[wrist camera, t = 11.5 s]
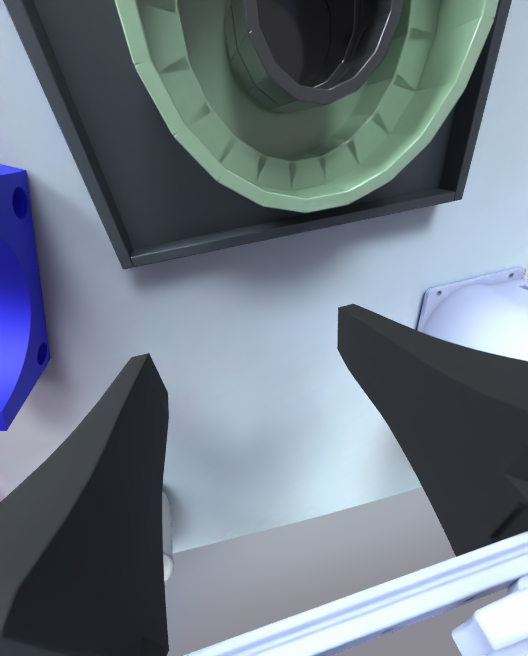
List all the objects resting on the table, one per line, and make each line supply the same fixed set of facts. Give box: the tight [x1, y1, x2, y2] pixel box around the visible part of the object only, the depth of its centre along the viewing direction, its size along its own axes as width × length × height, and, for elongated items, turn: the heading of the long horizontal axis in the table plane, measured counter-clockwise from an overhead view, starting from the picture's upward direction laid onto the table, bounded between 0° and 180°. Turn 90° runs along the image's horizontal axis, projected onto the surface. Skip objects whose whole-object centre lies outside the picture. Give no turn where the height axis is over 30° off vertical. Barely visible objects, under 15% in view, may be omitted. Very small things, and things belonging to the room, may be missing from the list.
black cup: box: [225, 0, 403, 113], centre depth 11 cm, size 6×6×5 cm
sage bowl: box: [115, 0, 499, 213], centre depth 11 cm, size 13×13×6 cm
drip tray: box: [3, 0, 512, 269], centre depth 13 cm, size 21×17×2 cm
